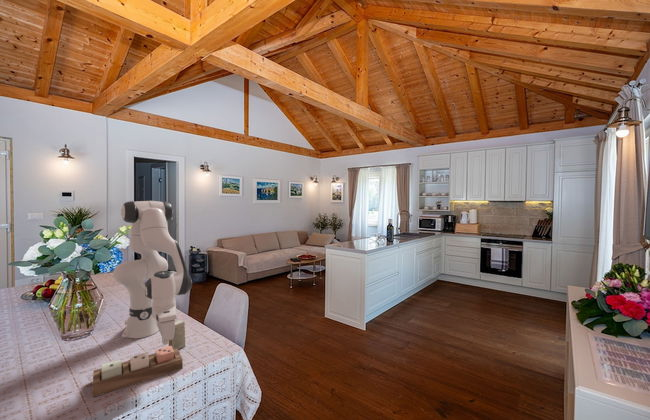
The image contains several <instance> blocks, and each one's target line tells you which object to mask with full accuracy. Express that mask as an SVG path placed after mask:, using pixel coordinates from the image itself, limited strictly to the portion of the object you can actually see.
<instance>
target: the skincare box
mask: <svg viewBox="0 0 650 420" xmlns="http://www.w3.org/2000/svg"><path fill="white" fill-rule="evenodd" d="M185 325H186V324H185V321H184V320H182V319H178V320H175V333H174V338H173V339H172V340H169V341H168V346H172V348H176V347H177V349H178V350H179V349H182V348H185V347H186V330H185V329H186V326H185Z"/></svg>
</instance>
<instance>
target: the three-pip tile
mask: <svg viewBox="0 0 650 420" xmlns="http://www.w3.org/2000/svg"><path fill="white" fill-rule="evenodd" d="M155 353H156V364H158V363H161V362H164V361H168V360H171V359H174V350H173V348H172V346H169V345H168V346H165V347H161V348H158V349H155Z"/></svg>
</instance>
